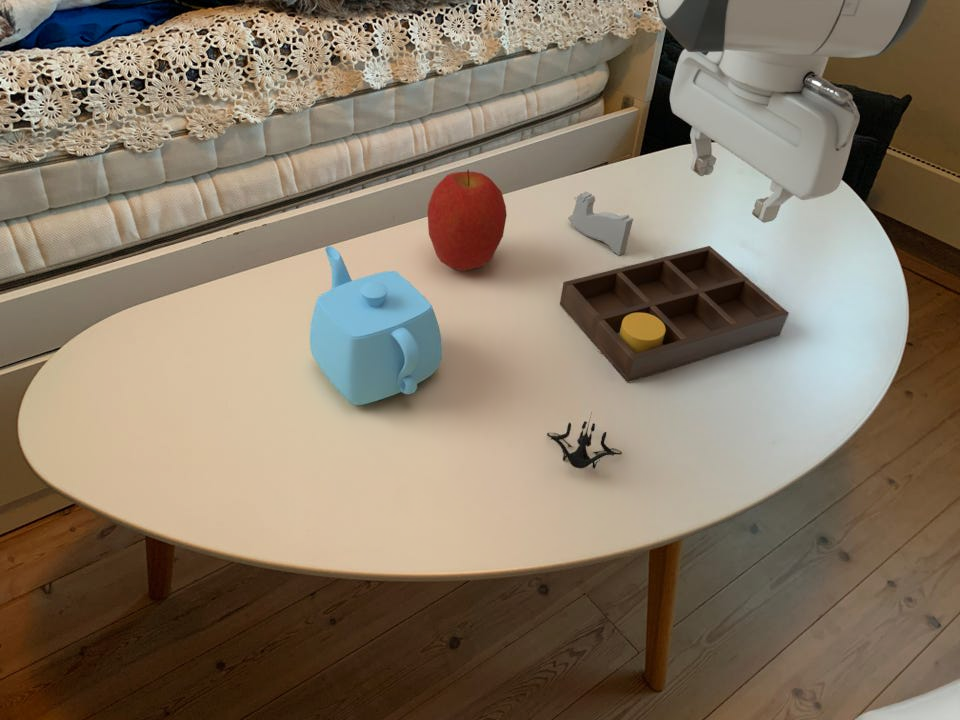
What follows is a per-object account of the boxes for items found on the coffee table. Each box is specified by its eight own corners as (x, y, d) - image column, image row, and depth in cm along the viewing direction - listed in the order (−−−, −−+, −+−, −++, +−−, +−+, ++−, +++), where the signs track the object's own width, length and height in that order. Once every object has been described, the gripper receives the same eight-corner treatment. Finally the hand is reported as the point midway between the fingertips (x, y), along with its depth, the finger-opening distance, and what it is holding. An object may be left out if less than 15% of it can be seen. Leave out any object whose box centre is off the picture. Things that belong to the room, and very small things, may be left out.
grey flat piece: (618, 256, 107) (565, 224, 112) (625, 253, 108) (572, 221, 113) (627, 221, 103) (571, 189, 108) (633, 217, 104) (578, 186, 109)
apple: (464, 296, 98) (470, 200, 89) (409, 262, 103) (409, 167, 93) (517, 264, 104) (528, 170, 95) (463, 233, 109) (468, 141, 99)
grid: (780, 335, 96) (789, 313, 94) (627, 382, 88) (633, 359, 86) (702, 267, 106) (709, 245, 104) (559, 304, 98) (563, 281, 96)
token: (667, 355, 91) (674, 333, 88) (632, 366, 89) (638, 344, 87) (643, 330, 94) (649, 308, 92) (608, 340, 92) (613, 318, 90)
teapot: (377, 303, 96) (375, 224, 88) (461, 390, 85) (466, 308, 78) (285, 338, 90) (273, 256, 82) (362, 435, 80) (357, 351, 72)
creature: (550, 428, 84) (534, 470, 77) (559, 385, 81) (543, 425, 74) (622, 447, 82) (613, 491, 75) (633, 404, 79) (625, 447, 73)
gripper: (893, 96, 62) (831, 242, 71) (727, 12, 75) (692, 145, 85) (836, 106, 60) (779, 256, 69) (675, 18, 73) (645, 154, 82)
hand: (730, 194), depth 77 cm, fingers open, 8 cm apart
